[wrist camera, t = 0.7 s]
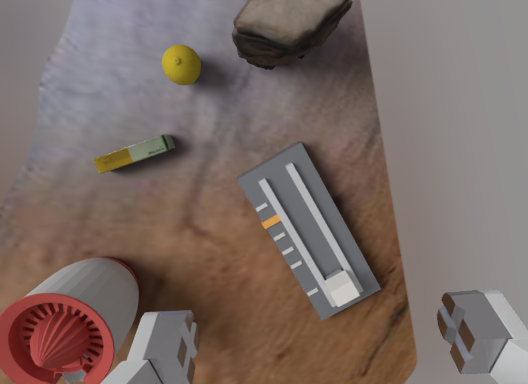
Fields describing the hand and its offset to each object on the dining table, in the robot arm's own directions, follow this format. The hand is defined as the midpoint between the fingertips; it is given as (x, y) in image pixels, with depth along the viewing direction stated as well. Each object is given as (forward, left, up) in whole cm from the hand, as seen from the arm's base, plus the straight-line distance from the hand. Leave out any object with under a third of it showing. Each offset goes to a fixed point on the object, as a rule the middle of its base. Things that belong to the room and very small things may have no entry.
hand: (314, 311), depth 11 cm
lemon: (+18, +3, -47) cm, 51 cm away
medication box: (+11, +17, -47) cm, 52 cm away
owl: (+16, -13, -47) cm, 52 cm away
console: (-16, -1, -47) cm, 50 cm away
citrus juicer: (-7, +36, -47) cm, 60 cm away
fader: (-25, -1, -44) cm, 50 cm away
